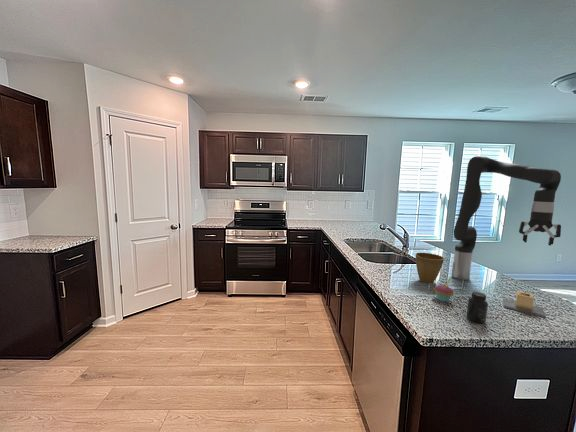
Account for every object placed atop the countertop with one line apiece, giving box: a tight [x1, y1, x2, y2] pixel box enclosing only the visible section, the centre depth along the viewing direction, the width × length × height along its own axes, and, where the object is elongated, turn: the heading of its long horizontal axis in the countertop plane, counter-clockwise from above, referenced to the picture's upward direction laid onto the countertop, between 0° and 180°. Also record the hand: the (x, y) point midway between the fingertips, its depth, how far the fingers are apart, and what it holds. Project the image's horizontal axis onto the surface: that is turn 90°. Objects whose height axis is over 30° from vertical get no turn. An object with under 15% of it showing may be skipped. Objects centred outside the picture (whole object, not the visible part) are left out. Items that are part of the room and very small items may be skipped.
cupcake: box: [433, 277, 455, 302], centre depth 126 cm, size 9×8×12 cm
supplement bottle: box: [465, 291, 489, 325], centre depth 106 cm, size 7×7×12 cm
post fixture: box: [502, 298, 547, 318], centre depth 119 cm, size 14×10×6 cm
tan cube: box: [514, 290, 535, 310], centre depth 118 cm, size 6×6×6 cm
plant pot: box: [415, 252, 445, 285], centre depth 149 cm, size 15×15×16 cm
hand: (537, 243), depth 123 cm, fingers open, 8 cm apart
